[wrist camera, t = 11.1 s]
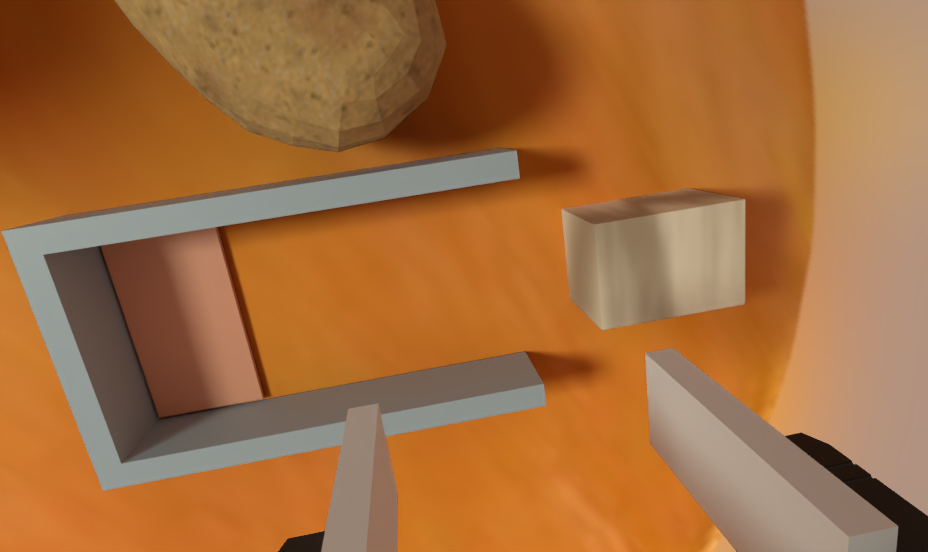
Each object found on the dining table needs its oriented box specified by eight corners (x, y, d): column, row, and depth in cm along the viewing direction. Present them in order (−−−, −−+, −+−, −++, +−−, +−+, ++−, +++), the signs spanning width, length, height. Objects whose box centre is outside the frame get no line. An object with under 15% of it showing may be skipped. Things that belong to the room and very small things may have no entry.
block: (602, 330, 25) (745, 304, 25) (593, 224, 23) (745, 199, 24) (569, 297, 29) (689, 276, 30) (560, 208, 28) (687, 187, 29)
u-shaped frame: (142, 442, 29) (103, 490, 25) (62, 216, 25) (1, 231, 21) (527, 370, 30) (546, 405, 26) (500, 147, 27) (516, 150, 23)
